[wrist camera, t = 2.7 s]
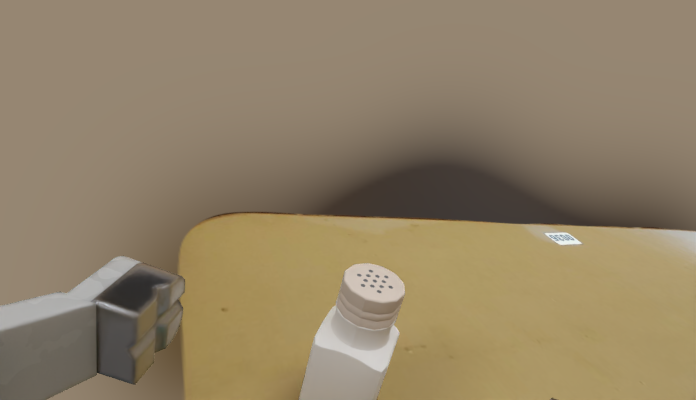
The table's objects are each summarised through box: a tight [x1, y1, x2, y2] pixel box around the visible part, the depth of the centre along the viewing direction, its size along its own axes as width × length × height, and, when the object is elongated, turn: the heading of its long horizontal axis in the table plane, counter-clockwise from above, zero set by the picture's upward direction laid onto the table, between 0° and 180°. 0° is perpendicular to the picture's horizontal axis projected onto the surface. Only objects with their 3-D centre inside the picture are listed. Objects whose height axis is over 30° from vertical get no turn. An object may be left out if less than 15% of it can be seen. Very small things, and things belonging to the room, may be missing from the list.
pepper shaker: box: [299, 263, 405, 400], centre depth 26 cm, size 4×4×10 cm
